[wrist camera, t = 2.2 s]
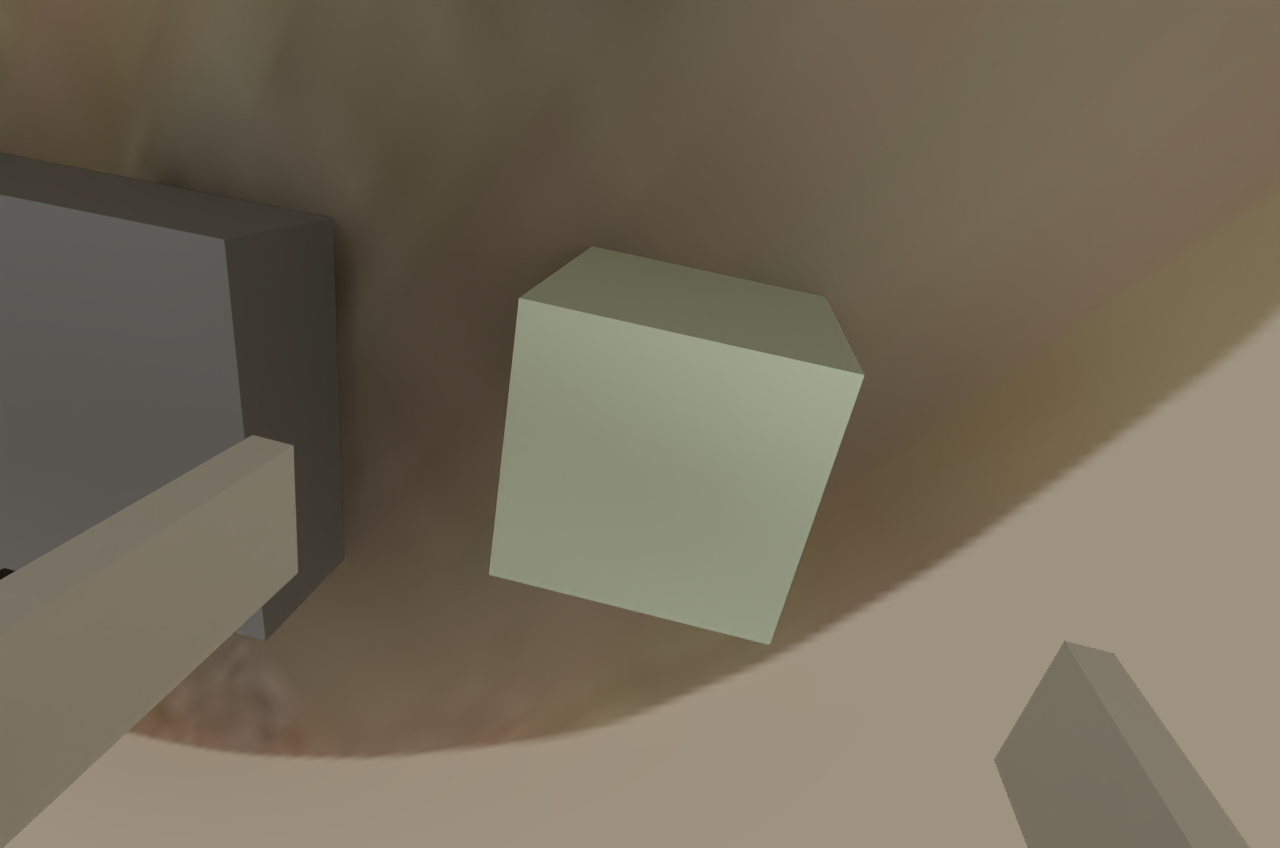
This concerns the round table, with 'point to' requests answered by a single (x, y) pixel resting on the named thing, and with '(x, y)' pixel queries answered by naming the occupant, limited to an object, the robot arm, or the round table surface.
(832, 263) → the round table surface
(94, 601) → the robot arm
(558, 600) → the round table surface
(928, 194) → the round table surface
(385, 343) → the round table surface
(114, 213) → the base block
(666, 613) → the green cube
